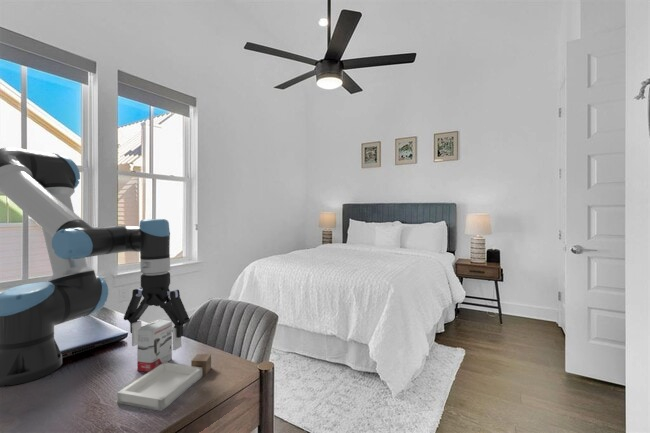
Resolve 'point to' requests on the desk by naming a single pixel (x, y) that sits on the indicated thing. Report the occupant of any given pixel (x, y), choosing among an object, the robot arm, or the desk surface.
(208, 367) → the block
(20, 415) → the desk surface
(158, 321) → the ink box
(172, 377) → the parts tray
